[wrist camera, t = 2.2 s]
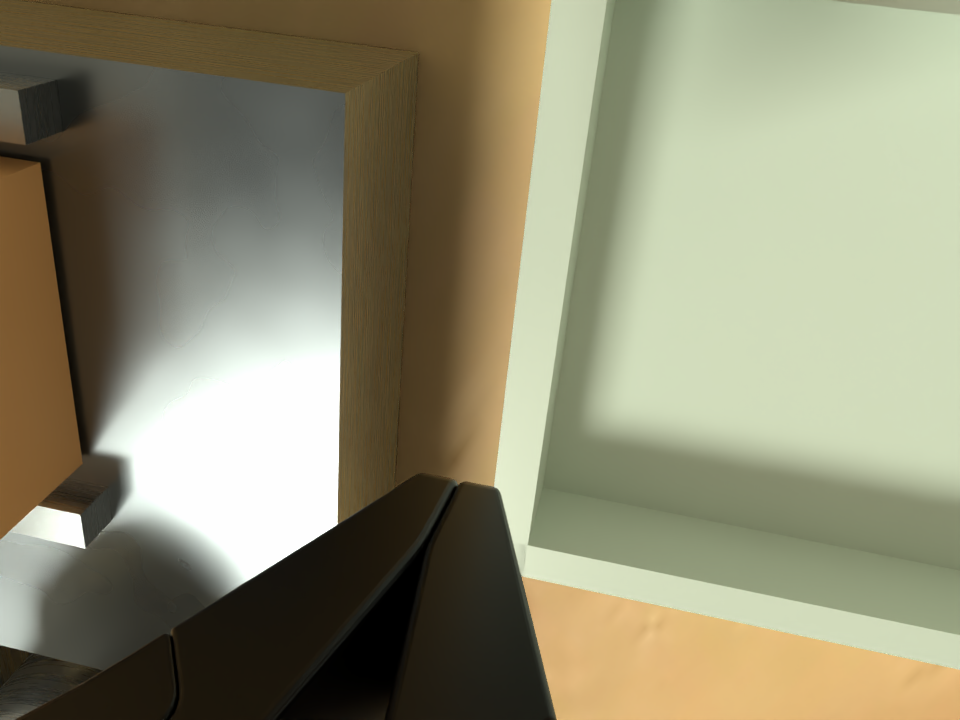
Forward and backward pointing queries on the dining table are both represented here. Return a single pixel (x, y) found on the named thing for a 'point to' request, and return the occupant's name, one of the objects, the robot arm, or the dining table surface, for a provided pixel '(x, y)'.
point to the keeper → (31, 352)
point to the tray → (745, 317)
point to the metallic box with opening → (204, 308)
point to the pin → (39, 684)
